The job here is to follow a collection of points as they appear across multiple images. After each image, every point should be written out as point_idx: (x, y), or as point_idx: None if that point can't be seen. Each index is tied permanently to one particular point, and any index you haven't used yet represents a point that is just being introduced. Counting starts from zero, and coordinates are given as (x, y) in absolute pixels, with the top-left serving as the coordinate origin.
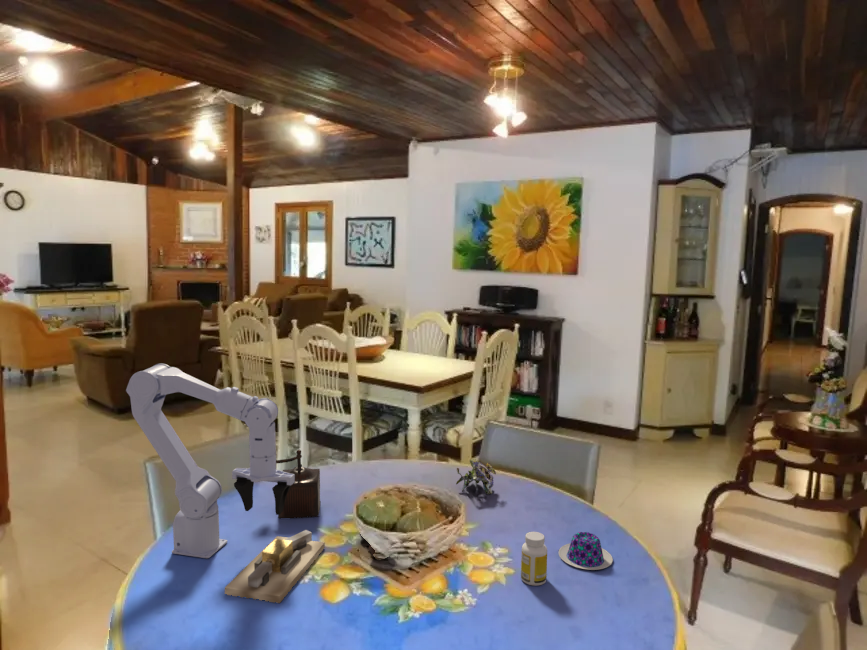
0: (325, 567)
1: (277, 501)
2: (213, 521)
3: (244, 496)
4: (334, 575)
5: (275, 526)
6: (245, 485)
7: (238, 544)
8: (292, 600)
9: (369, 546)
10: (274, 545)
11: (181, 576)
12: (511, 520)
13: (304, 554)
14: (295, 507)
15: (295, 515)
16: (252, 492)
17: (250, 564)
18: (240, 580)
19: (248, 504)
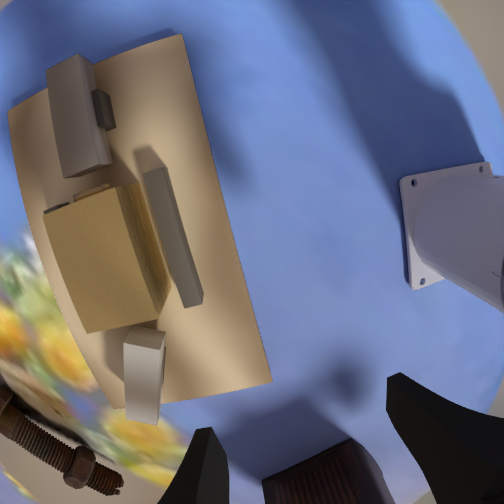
0: (42, 321)
1: (179, 493)
2: (483, 250)
3: (445, 424)
4: (4, 298)
5: (334, 415)
6: (478, 486)
7: (374, 297)
8: (3, 145)
9: (2, 406)
10: (114, 268)
11: (389, 68)
12: (11, 500)
13: (100, 336)
14: (317, 480)
15: (312, 463)
16: (422, 469)
17: (210, 188)
18: (161, 88)
19: (403, 406)
